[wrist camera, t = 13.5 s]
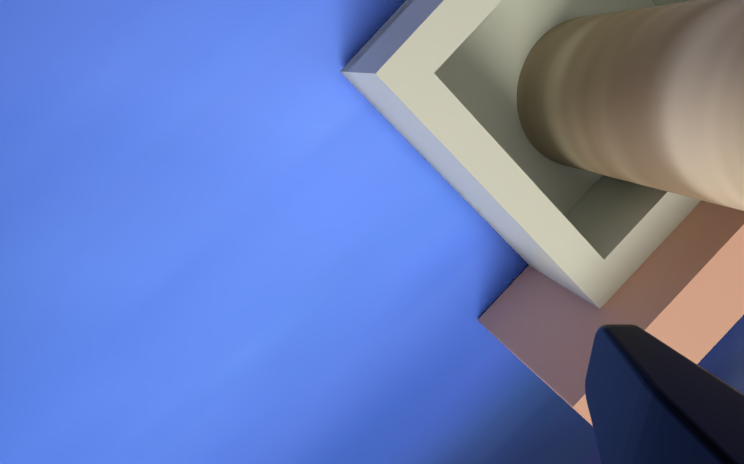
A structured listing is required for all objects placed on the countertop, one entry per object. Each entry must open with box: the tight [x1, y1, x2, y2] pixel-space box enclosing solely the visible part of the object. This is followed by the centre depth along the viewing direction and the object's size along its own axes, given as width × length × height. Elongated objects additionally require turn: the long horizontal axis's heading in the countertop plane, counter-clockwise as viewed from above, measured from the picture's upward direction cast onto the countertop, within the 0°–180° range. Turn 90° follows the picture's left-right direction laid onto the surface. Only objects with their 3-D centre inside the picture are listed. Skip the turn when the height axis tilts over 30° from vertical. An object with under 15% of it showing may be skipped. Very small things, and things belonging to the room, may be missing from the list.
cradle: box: [340, 0, 701, 309], centre depth 19 cm, size 9×9×4 cm
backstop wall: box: [478, 200, 744, 426], centre depth 20 cm, size 14×2×6 cm, turn 135°
